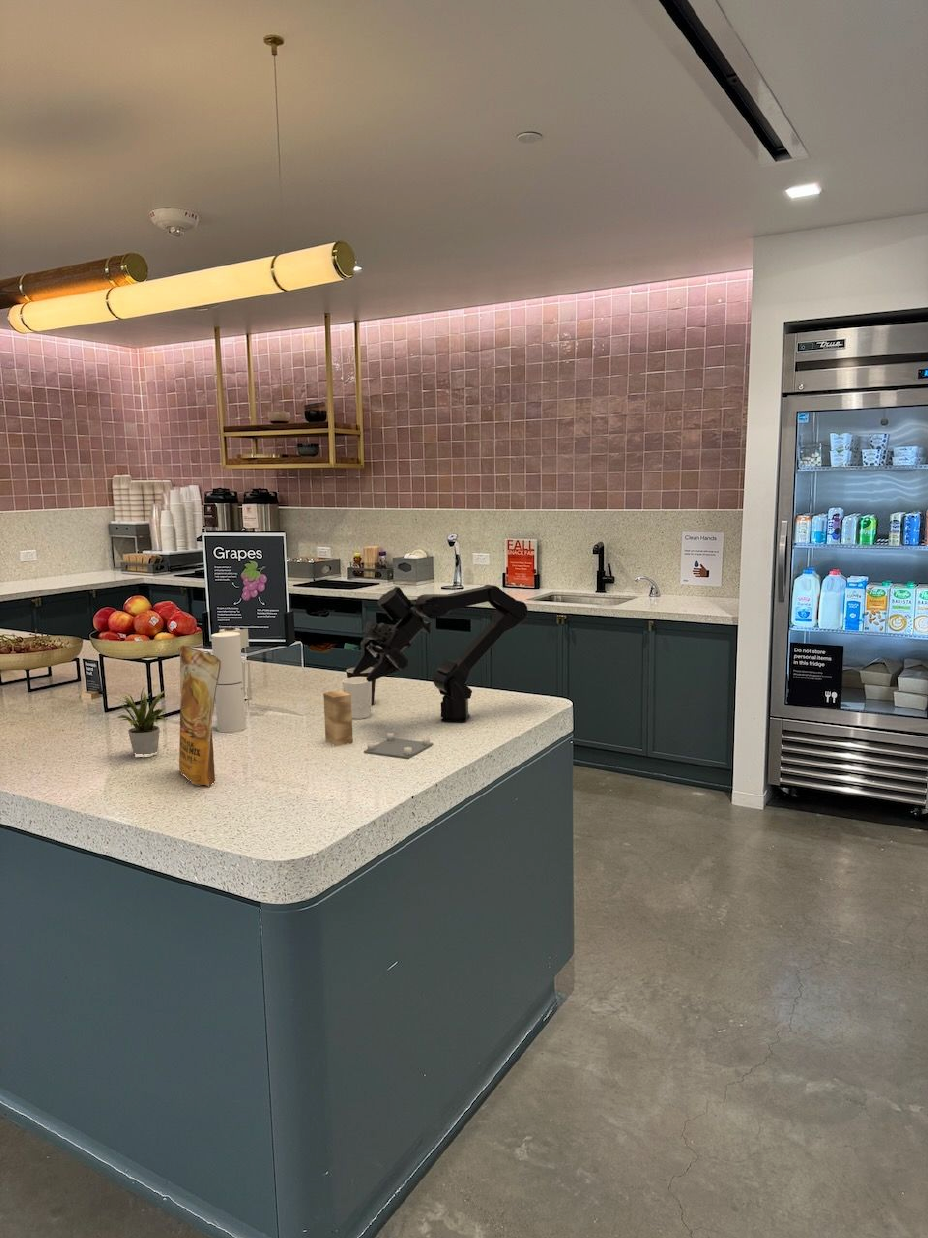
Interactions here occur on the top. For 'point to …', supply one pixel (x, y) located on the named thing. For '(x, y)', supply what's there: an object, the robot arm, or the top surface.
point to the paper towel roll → (244, 644)
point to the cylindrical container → (229, 682)
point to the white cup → (359, 696)
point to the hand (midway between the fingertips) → (360, 677)
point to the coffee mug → (363, 674)
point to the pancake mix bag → (197, 714)
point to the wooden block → (338, 717)
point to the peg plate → (398, 747)
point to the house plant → (143, 725)
